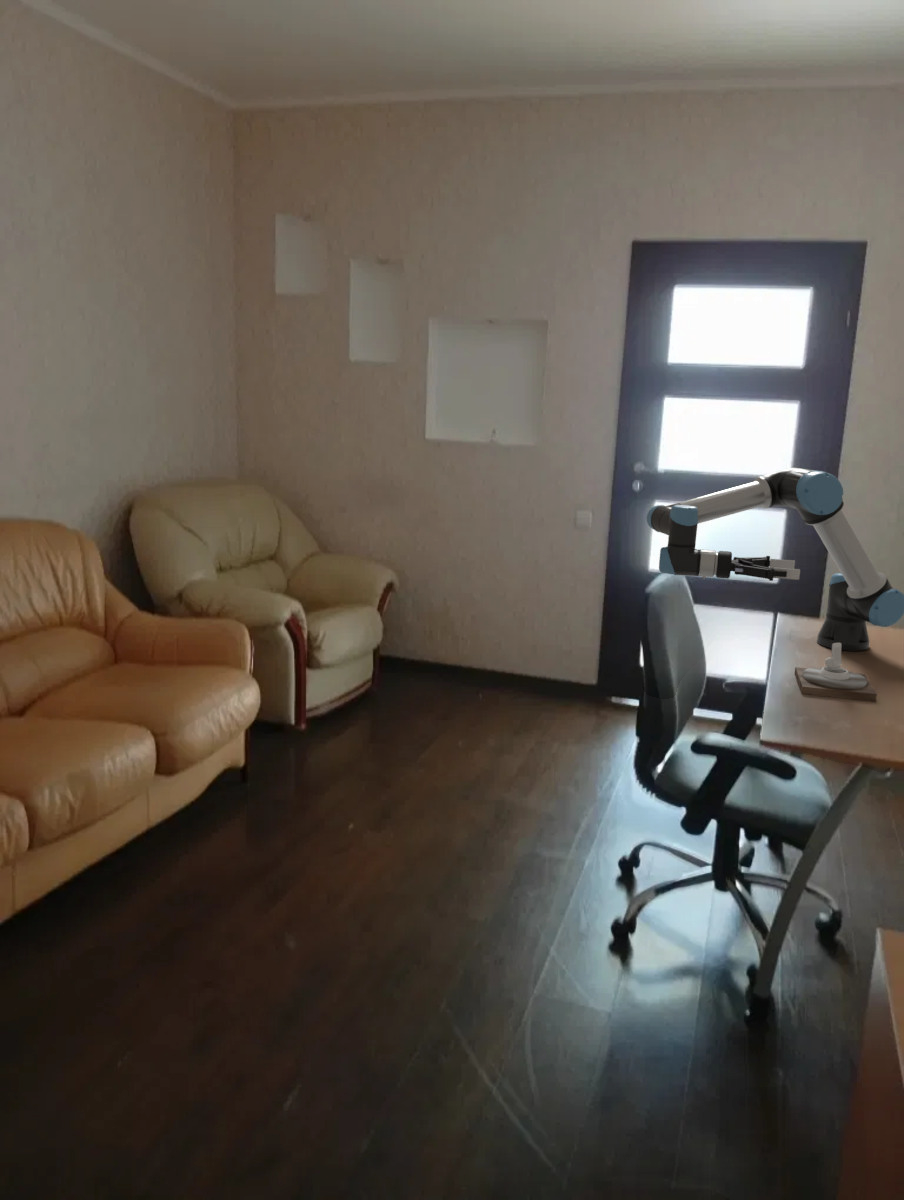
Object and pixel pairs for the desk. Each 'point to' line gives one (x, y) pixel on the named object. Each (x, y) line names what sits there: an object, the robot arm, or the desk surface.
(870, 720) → the desk surface
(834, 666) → the white vr controller
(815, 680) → the rosette stand
